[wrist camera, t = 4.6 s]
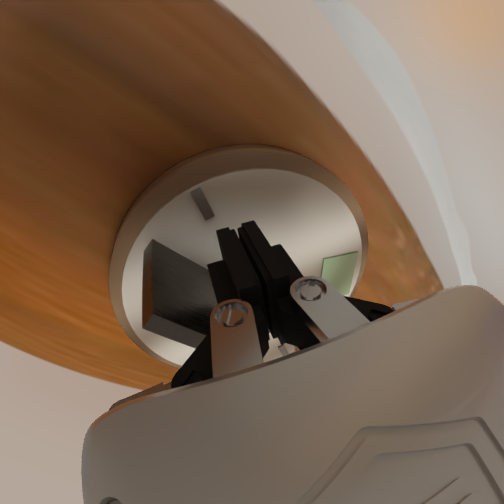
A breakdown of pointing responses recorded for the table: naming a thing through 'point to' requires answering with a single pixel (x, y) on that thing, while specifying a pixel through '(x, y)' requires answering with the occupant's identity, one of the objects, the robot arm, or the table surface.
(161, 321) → the dial pointer
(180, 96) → the table surface
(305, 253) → the base
